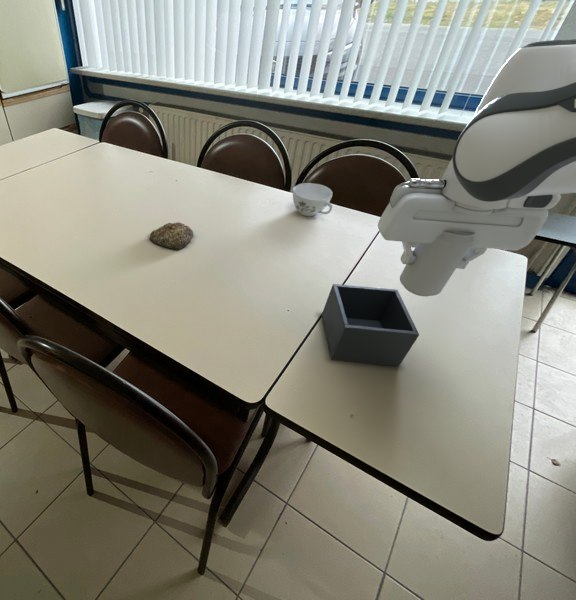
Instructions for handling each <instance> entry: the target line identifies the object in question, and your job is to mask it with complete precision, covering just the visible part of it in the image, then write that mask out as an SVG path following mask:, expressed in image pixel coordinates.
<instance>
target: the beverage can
mask: <svg viewBox="0 0 576 600" xmlns="http://www.w3.org/2000/svg"><path fill="white" fill-rule="evenodd" d="M474 234H475V233H462V232H449V231H443V234H441V235H439V236H438V237H436V239H435V240H434V242H433V243H432V244H427V243H417V245H416V247H415V248H414V249H413V251H414V252H415V254H416V256H417V259H416V261H414V262H415V263H414V264H413V265H408V264H405V266H404V268H403V270H402V272H401V273H400V276H399V281H400V284H401V285H402V286H403V288H404V289H406V290H407V292H409V293H411V294H413V295H415V296H419V297H424V298H425V297H433V296H437V295H439V294H441V293H442V291H443V289H444V288H445V286H446V285H447V283H448V282H449V281H450V279H451V277H452V276H453V274H454V273H455V271H456V269H457V266H458V265H459V263H460V262H461V260H462V258H463V257H464V255H465V254H466V252H467V251H468V249H469V248H470V246H471V245H472V243H473V241H474V239H473V235H474Z"/></svg>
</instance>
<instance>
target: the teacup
mask: <svg viewBox="0 0 576 600" xmlns="http://www.w3.org/2000/svg"><path fill="white" fill-rule="evenodd" d="M332 197H333V190H332V189H331V188H330V187H328V186H326V185H323V184H321V183H315V182H313V183H312V182H302V183H299V184H297V185H295V186H293V189H292V200H293V204H294V205H293V206H294V207H295V209H296V210H297V211H298V213H299V214H300V215H302V216H306V217H313V216H316V215H317V214H320V215H328V214H330V213H331V212H332V210H333V204H332V203H331V202H330V201H331V200H332ZM327 206H328V209H329V210H327V211H323V210H324V209H326V208H327Z"/></svg>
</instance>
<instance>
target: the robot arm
mask: <svg viewBox="0 0 576 600" xmlns="http://www.w3.org/2000/svg"><path fill="white" fill-rule="evenodd" d="M566 194H576V38H575V39H574V38H572V39H553V40H551V39H550V40H540V41H539V40H538V41H534V42H531V43H528V44H525V45H524V46H521V47H520V48H518V49H517V50H515V51H514V53H512V55H511V56H510V57H508V59H507V60H506V62H505V63H504V64H503V65H502V66H501V68H500V69H499V71H498V72H497V73H496V75H495V77H494V78H493V80H492V81H491V84H490V85H489V87H488V88H487V90H486V92H485V94H484V95H483V97H482V99H481V101H480V103H479V105H478V106H477V108H476V110H475V112H474V114H473V116H472V118H471V119H470V120H469V122H467V124H466V125H465V127H464V128H463V130H462V131H461V133H460V134H459V136H458V139H457V141H456V143H455V145H454V148H453V153H452V157H451V160H450V161H449V163H448V165H447V167H446V169H445V170H444V173H443V174H442V177H441V179H421V178H410V179H409V180H408V181H404V182H401V183H399V184H398V185H396V186H395V188H394V189H393V191H392V193H391V196H390V199H389V203H388V204H387V206H386V207H385V209H384V210H383V212H382V214H381V216H380V218H379V220H378V222H377V228H378V231H379V233H380V235H381V236H382V238H383V239H384V240H385V241H388V242H401V243H402V244H401V245H402V248H403V252H402V254H401V256H400V262H401V263H402V265H406V264H408V265H413V264H414V263H415V262H414V261H416V259H417V256H416V254H415V252H414V250H412V249H413V248H414V249H415V247H416V245H417V243H427V244H432V243H433V242H434V240H435V239H436V237H438V236H439V235H441V234H443V231H449V232H462V233H475V234H474V235H473V239H474V241H473V243H472V245H471V246H470V248H469V249H468V251H467V252H466V254H465V255H464V257H463V258H462V260H461V262H460V263H459V265H458V266H457V268H456V269H459V270H465V269H466V267H467V266H468V264H469V263H470V262H471V261H472V262H473V260H475V259H477V258H479V257H481V256H482V255H484V254H485V253H486V252H487V249H492V250H493V249H494V250H504V251H505V250H506V251H519V250H521V249H523V248H525V247H527V246H528V245H529V244H530V243H531V242H532V241H533V240H534V239H535V237H537V235H538V234H539V232H540V230H541V229H542V228H543V226H544V225H545V224H546V221H547V219H548V218H549V210H550V209H552V208H554V207H555V206H557V204H559V202H560V200H561V198H562V195H566Z"/></svg>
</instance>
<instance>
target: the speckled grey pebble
mask: <svg viewBox="0 0 576 600" xmlns="http://www.w3.org/2000/svg"><path fill="white" fill-rule="evenodd" d="M193 236H194V230H193V229H192V228H191V227H190V226H188V225H185V224H184V223H182V222H179V221H178V222H173V223H171V222H168V223H165V224H163V225H162V226H160V227H159V228H157V229H153V230H152V231H151V232H150V234H149V239H150V240H151V241H152V242H154V243H155V244H157V245H159V246H161V247H164V248H169V249H173V250H180V249H183V248H184V247H186V246H187V245H189V244H190V243H191V241H192V239H193Z"/></svg>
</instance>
